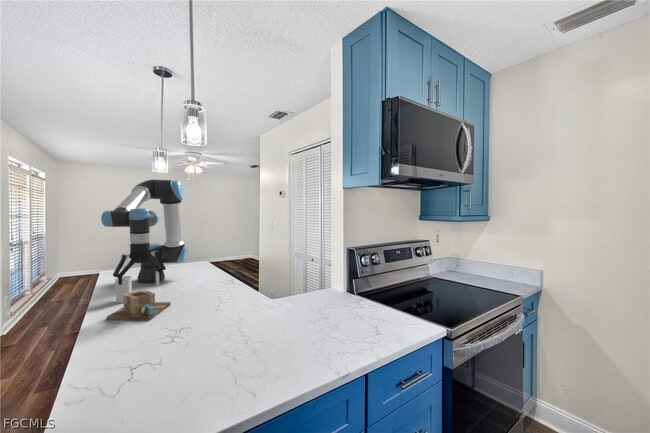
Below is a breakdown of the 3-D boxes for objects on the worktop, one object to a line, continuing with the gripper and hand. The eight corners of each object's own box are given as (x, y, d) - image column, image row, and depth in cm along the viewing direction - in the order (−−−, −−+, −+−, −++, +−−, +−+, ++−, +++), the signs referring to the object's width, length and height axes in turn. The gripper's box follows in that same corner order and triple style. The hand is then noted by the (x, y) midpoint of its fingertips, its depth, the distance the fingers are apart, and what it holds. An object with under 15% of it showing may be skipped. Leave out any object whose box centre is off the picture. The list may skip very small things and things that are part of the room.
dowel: (142, 314, 124) (142, 307, 124) (145, 314, 124) (145, 307, 124) (140, 316, 123) (140, 308, 123) (143, 316, 123) (143, 308, 123)
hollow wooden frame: (123, 310, 129) (123, 294, 128) (144, 304, 137) (144, 289, 136) (141, 317, 121) (141, 301, 121) (162, 311, 129) (162, 295, 128)
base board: (132, 304, 139) (132, 301, 139) (170, 305, 140) (170, 302, 140) (106, 320, 121) (106, 316, 121) (149, 320, 122) (149, 316, 122)
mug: (134, 300, 146) (134, 276, 145) (121, 304, 140) (120, 280, 139) (122, 297, 150) (122, 274, 149) (108, 300, 144) (108, 277, 143)
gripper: (107, 246, 118) (108, 296, 119) (172, 241, 135) (173, 284, 137) (104, 243, 123) (105, 292, 124) (167, 238, 140) (168, 281, 142)
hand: (140, 288), depth 131 cm, fingers open, 13 cm apart
